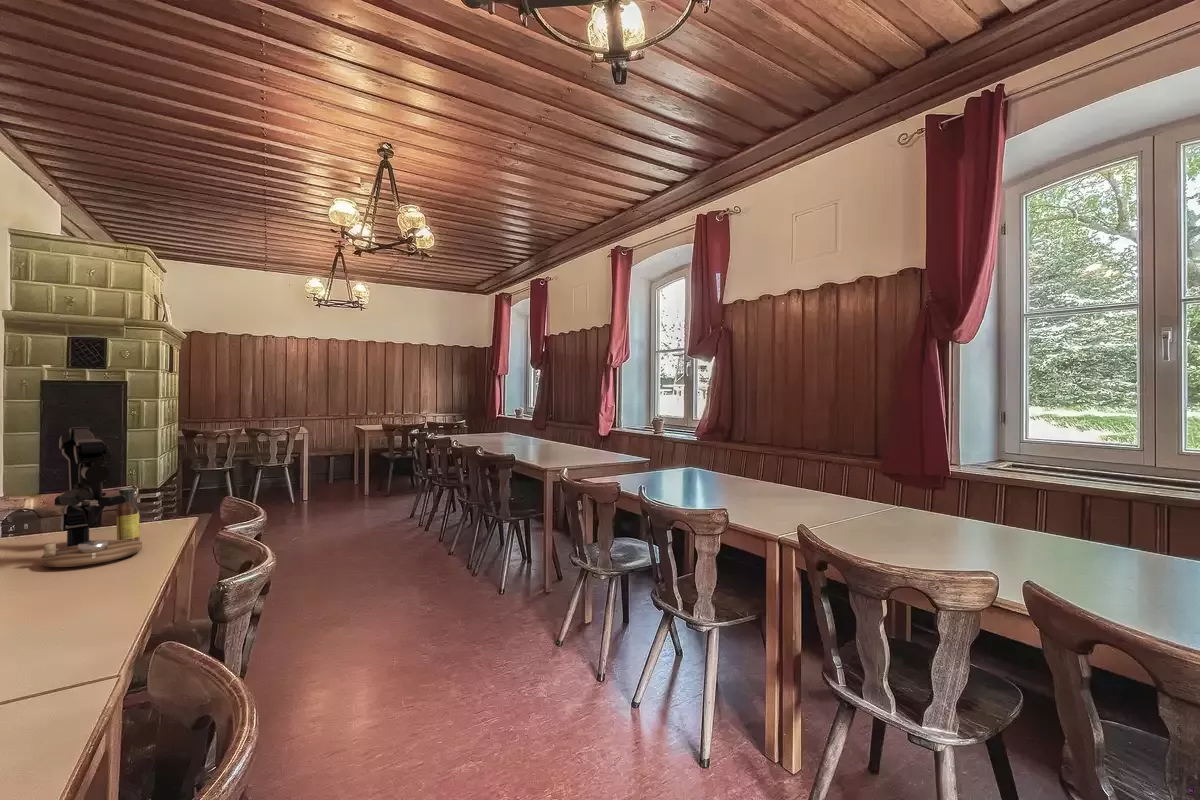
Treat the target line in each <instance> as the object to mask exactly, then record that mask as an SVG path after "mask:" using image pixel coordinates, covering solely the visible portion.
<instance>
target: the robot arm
mask: <svg viewBox="0 0 1200 800" xmlns="http://www.w3.org/2000/svg"><path fill="white" fill-rule="evenodd" d="M58 448H59V450H61V455H62V456H63V457H64V458H65V459H66V460H67V461H68V483H69V490H68V491H66V492H64V493H62V494H61V495H57V496H56V497H55V498H54V505H55V506H56V505H57V506H65V508H64V510H63V512H64V513H62V515H61V518H60V530H61V531H62V532H65V531H66V543H65V545H64V548H66V547H70V546H75V545H78V544H80V543H83V542H88V541H92V540H91V539H90V528H92V527H93V528H95V527H97V526H98V518H99V516H100V515H101V513H102V511H103V510H104V509H105V507H113V506H116V505H117V506H118V505H119V504H122V503H125V496H124V495H120V494H115V493H114V494H108V495H107V492H103V485H104V484H107V480H106V479H108V478H109V475H110V471H109V468H108V467H107V466H104V463H109V462H110V460H111V455H112V454H111V451H110V448H109V446H108V444H107V443H105V442H104V440H102V439H96V438H95V437H94V433H93V432H91V427H88V426H78V427H77V426H76V427H73V426H72V427H70V428H69V430H68V431H66V432H64V433H62V434H61V435H60V437H59V439H58Z"/></svg>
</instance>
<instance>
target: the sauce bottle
mask: <svg viewBox="0 0 1200 800" xmlns="http://www.w3.org/2000/svg"><path fill="white" fill-rule="evenodd" d="M118 492H119V495H124V496H125V503H122V504H117V506H116V509H115V510H116V511H115V512H116V517H115V518H116V523H115V525H116V540H136V541H140V537H141V531H140V529H141V528H140V509H139V507H138V504H137V502H136V500H135V495H134V492H135V488H134V487H125V488H121V489H120V488H119V491H118Z"/></svg>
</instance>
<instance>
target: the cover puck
mask: <svg viewBox="0 0 1200 800" xmlns="http://www.w3.org/2000/svg"><path fill="white" fill-rule="evenodd" d="M108 541H109V540H107V539H95V540H91V541H88V542H83V543H80V544H78V553H81V554H86V553H95V552H100V551H104V550H106V549H108Z"/></svg>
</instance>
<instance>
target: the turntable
mask: <svg viewBox="0 0 1200 800" xmlns="http://www.w3.org/2000/svg"><path fill="white" fill-rule="evenodd" d="M107 541H108V549H106V550H104V551H100V552H95V553H86V554H81V553H78V545H75V546H70V547H66V548H65V547H63V548H59V549H57V543H56V542H47V543H45V544H43V555H42V556H40V565H41V566H44V567H49V568H67V567H78V566H79V567H81V566H88V565H89V564H91V565H95V564H96V563H97V564H100V563H101V562H102V563H105V562H110V561H115V560H120V559H124V558H126V557H130V556H132V555H135V554H137V553H139V552H140V551H142V550H143V542H141V541H140V540H139V541H136V540H117V539H112V540H107ZM89 566H90V565H89Z"/></svg>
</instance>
